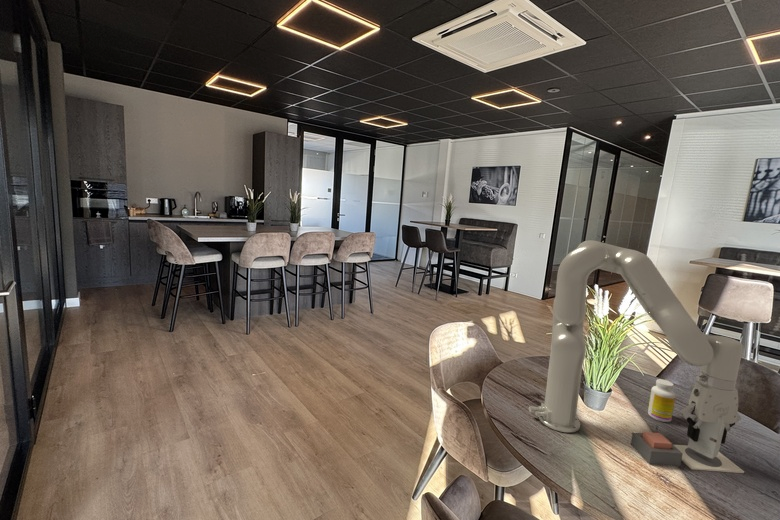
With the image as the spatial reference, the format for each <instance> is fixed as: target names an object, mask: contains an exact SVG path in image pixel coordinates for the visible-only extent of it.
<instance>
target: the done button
mask: <svg viewBox="0 0 780 520" xmlns="http://www.w3.org/2000/svg"><path fill="white" fill-rule="evenodd" d="M642 433H643V437H642V438H643V439H644V440H645V441H646V442H647V443H648V444H649V445H650V446H651V447H652V448H658V449H671V447H672V444H673V443H672V442H671V441H670V440H669V439H668V438H666V436H664V435H663V434H662V433H661V432H650V431H649V432H648V431H643V432H642Z"/></svg>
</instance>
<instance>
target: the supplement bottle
mask: <svg viewBox="0 0 780 520" xmlns="http://www.w3.org/2000/svg"><path fill="white" fill-rule="evenodd" d="M673 389H674V383H673V382H671V381H669V380H667V379H662V378H659V379H658V378H657V379H656V381H655V385H653V386H652V387H651V390H650V396H649V402H648V408H647V409H648V410H647V414H648V415H649V416H650V417H651V418H652V419H654V420H656V421H658V422H661V423H671V421H672V420H673V415H674V414H673V413H674V407H675V401H676V393H675V391H673Z"/></svg>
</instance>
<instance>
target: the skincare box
mask: <svg viewBox="0 0 780 520" xmlns="http://www.w3.org/2000/svg"><path fill="white" fill-rule="evenodd" d="M696 420H697V418H695V420H694V422H695V421H696ZM723 421H724V419H723V418H718V421H717V423H707V422H702V423H701V424H700V426H699V427H698V428H699V429H700V433H699V438H698V441H697V442H694V441H693V440H692V439H691V438H690V437H688V442H687V446H688V447H689V448H691V449H693V450H695V451H697V452H699V453H701V454H703V455H705V456H707V457H709V458H711V459H713V458H714V457H716V456H717V455H718V453H719V452H720V447H721V445H722V444H721V440H722V436H723V432H724V428H725V424H723Z"/></svg>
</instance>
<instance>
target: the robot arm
mask: <svg viewBox="0 0 780 520" xmlns="http://www.w3.org/2000/svg"><path fill="white" fill-rule="evenodd" d="M596 270H602V271H605V272H609V273H613V274H618V275H620V277H622V279H623V280H624V281H625V283H626V284H627V286H628V288H629V287H630V288H629V289H630V290H631V292H632V293H633V295H634V296H635V298H636V299H637V301H638V302H639V304H640V306H641V307H642V308H643V310H644V311H645V312H646V314H647V313H648V314H647V315H648V316H649V317H650V318H651V319H652V320H653V321H654V322H655V324H657V326H658V327H659V328H660V330H661V331H662V333H664V335H665V337H666V338H667V339H668V340H667V342H668V344H669V346H670V348H671V349H672V351H673V352H675V353H676V354H677V356H678V357H679V358H680V360H682V361H683V362H684V363H686V364H687V365H690V366H693V367H700V371H699V375H696V376H695V377H696V378H695V379H696V380H697V381H696V382H695V383H694V385H693V388H692V391H691V393H690V396H689V400H688V405H687V406H685V407H683V408H682V409H681V410H679V414H680V415H681V416H682V418H683V419H684V420H685V421H686V423H687V424H688V426H687V427H688V428H687V431H686V436H687V437H688V438H689V437H690V438H691V439H692V440H693V441H694V442H697V441H698V438H699V433H700V429H699V428H698V427H699V426H700V424H701V423H702V422H707V423H717V421H718V418H723V419H724V421H723V424H725V428H724V432H723V436H722V440H721V445H725V444H726V438H727V433H728V432H730V431H731V428H732V427H733V426H735V425H736V423H738V422H739V421H740V420H741V419H742V417H741V415H740V414H738V413H739V412H738V410H739V392H738V388H736V384H737V380H738V375H739V370H740V364H741V360H742V355H743V352H744V351H743V350H744V347H743V344H742V343H741V342H740V341H739V340H737V339H734V338H731V337H728V336H724V335H723V336H722V335H710V334H706V333H704V332H702V330H701V328H699V326H698V324H697V323H696V322H695V320H694V319H693V318H692V317H691V315H690V314H689V312H688V311H687V310H686V308H685V307H684V305H683V304H682V302H681V301H680V300H679V298H678V297H677V296H676V294H675V293H674V291H673V290H672V289H671V287H670V285H669V284H668V283H667V281H666V279H665V278H664V277H663V276H662V274H661V273H660V271H659V269H658V268H657V267H656V265H655V264H654V263H653V261H652V260H651V258H650V257H649V256H648V255H646V254H645V253H643V252H640V251H638V250H636V249H630V248H626V247H621V246H616V245H614V244H609V243H605V242H601V241H598V240H593V239H590V240H585V241H582V242H581V243H579V244H578V246H577V247H576V248H575V249H573V250H571V251H570V252H568V254H567V255H566V256H565V257H564V258H563V259H562V261H561V262H560V264H559V266H558V270H557V274H556V285H555V296H554V300H553V304H552V305H553V306H552V322H551V323H552V327H551V344H550V355H549V362H548V369H547V379H546V381H547V382H546V389H545V397H544V402H541V404H540V405H538V406H532V405H530V406H528V412H529V413H532V414H533V413H535V414H534V415H535V416H536V417H537V418H538V417H539V418H538V420H539V421H540V422H541V423H542V424H543V425H545V426H546V427H548V428H550V429H552V430H554V431H558V432H561V433H562V432H563V433H568V434H569V433H576V432H578V431H579V430H580V429H581V421H580V420H579V419H578V417H577V413H578V412H577V411H578V403H579V396H580V389H581V388H580V387H581V380H582V372H583V371H582V370H583V365H584V361H585V356H586V341H585V338H584V319H585V317H586V314H587V306H586V305H587V302H586V301H587V299H586V298H587V286H588V279H589V277H590V275H591V274H592V272H594V271H596ZM649 312H650V313H649ZM695 418H697V420H696V421H695V422H694V420H695Z"/></svg>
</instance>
